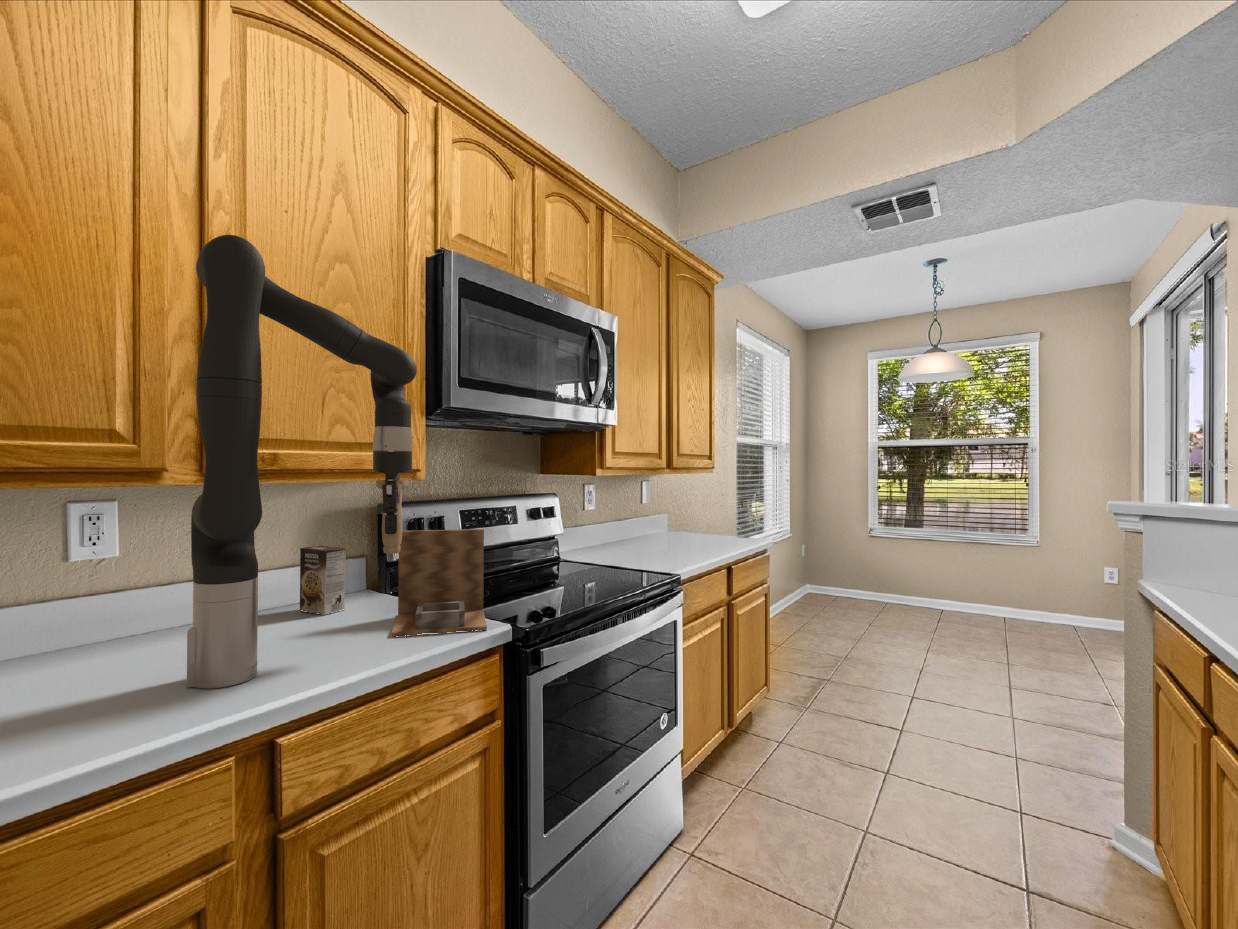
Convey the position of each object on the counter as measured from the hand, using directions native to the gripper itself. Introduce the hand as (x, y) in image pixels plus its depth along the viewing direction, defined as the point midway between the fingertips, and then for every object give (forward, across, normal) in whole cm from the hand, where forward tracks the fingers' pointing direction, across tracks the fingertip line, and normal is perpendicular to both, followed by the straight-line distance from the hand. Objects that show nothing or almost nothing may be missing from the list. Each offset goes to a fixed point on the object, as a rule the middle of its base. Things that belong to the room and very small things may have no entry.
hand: (392, 532), depth 117 cm
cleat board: (+23, -15, +9) cm, 29 cm away
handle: (+4, 0, 0) cm, 4 cm away
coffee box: (+24, -34, -20) cm, 45 cm away
